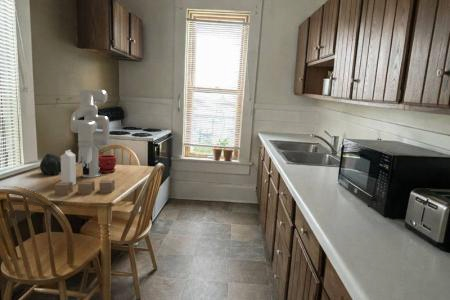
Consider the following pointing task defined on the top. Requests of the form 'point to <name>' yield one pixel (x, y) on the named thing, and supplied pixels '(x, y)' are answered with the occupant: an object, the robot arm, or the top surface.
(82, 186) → the plain block
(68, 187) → the digit block 1
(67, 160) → the milk
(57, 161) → the squash
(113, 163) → the plant pot
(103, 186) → the digit block 7
